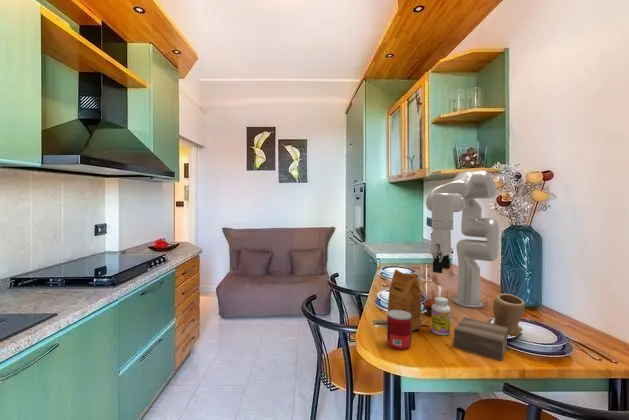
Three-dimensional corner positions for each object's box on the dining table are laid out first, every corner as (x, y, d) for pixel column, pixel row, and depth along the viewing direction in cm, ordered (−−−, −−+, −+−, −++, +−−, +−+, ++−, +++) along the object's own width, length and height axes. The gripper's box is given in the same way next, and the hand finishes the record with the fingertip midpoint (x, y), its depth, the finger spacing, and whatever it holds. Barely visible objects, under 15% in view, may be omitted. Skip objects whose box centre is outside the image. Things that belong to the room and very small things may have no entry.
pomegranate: (438, 324, 124) (449, 306, 129) (430, 312, 123) (441, 294, 127) (424, 320, 131) (434, 303, 135) (416, 308, 129) (427, 291, 133)
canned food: (415, 348, 99) (416, 316, 98) (394, 352, 96) (395, 319, 96) (402, 338, 106) (403, 308, 106) (383, 341, 104) (383, 310, 103)
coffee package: (401, 318, 125) (401, 267, 124) (424, 329, 114) (425, 273, 113) (383, 323, 120) (383, 269, 119) (406, 335, 109) (406, 276, 108)
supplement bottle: (428, 332, 111) (428, 298, 111) (434, 326, 116) (435, 294, 116) (446, 337, 107) (447, 302, 107) (452, 332, 112) (453, 298, 111)
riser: (463, 332, 111) (464, 317, 111) (507, 344, 102) (508, 327, 102) (454, 346, 100) (454, 329, 100) (502, 360, 91) (502, 341, 91)
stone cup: (517, 346, 101) (518, 303, 100) (480, 334, 110) (481, 294, 110) (532, 334, 110) (533, 295, 109) (497, 324, 119) (497, 287, 119)
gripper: (438, 224, 120) (438, 265, 120) (424, 226, 107) (423, 272, 107) (458, 225, 115) (457, 268, 115) (446, 227, 102) (445, 276, 102)
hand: (441, 270), depth 111 cm, fingers open, 9 cm apart
